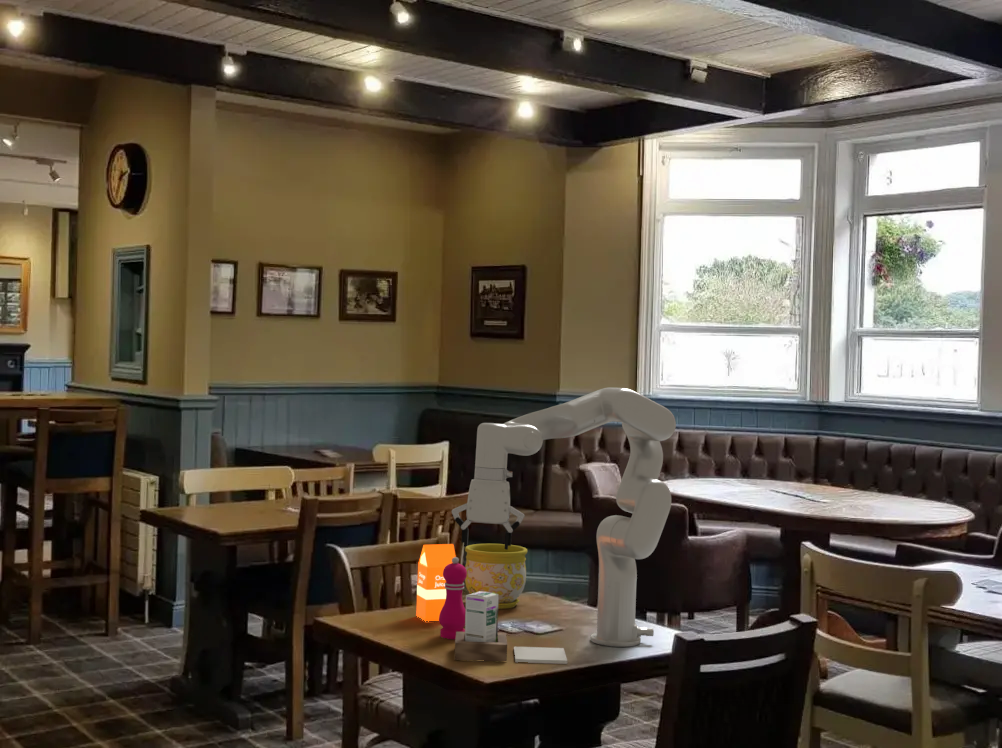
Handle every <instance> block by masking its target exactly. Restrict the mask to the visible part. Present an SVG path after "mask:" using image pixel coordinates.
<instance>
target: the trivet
mask: <svg viewBox="0 0 1002 748" xmlns="http://www.w3.org/2000/svg"><path fill="white" fill-rule="evenodd" d="M513 654H514V655H515V656H514V661H515V663H518V662H528V663H527V664H552V665H553V664H554V665H555V664H556V665H557V664H559V665H567V664H568V658H567V655H566V652H565V648H564V647H543V646H542V647H541V646H539V647H538V646H513Z"/></svg>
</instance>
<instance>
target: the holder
mask: <svg viewBox="0 0 1002 748" xmlns="http://www.w3.org/2000/svg"><path fill="white" fill-rule="evenodd" d="M507 659H508V639H507V632H498V640H497V642H468V641H465V632H457V631H456V639H454V660H467V661H466V662H470V661H469V660H484V661H483V662H486V661H507V662H508V660H507Z"/></svg>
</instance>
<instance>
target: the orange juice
mask: <svg viewBox="0 0 1002 748" xmlns="http://www.w3.org/2000/svg"><path fill="white" fill-rule="evenodd" d="M454 557H457V555H456V551H455V546H454V543H442V544H441V543H440V544H437V543H436V544H423V546H422V549H421V553H420V557H419V559H418V562H417V585H416V609H415V611H416V613H415V617H416V616H417V617H416V618H418V617H419V618H421V619H422V620H421V619H420V620H421V621H423V620H424V621H425V622H424V621H423V622H424V623H430V622H429V621H439V615H440V612H441V610H442V608H443V606H444V603H445V600H446V589H445V588H444V587H445V582H446V580H445V579H444V577H443V570H444V568H445V567H446V566H447V565H448V564H451V563H452V559H453V558H454ZM419 618H418V619H419ZM426 621H428V622H426Z"/></svg>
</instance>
